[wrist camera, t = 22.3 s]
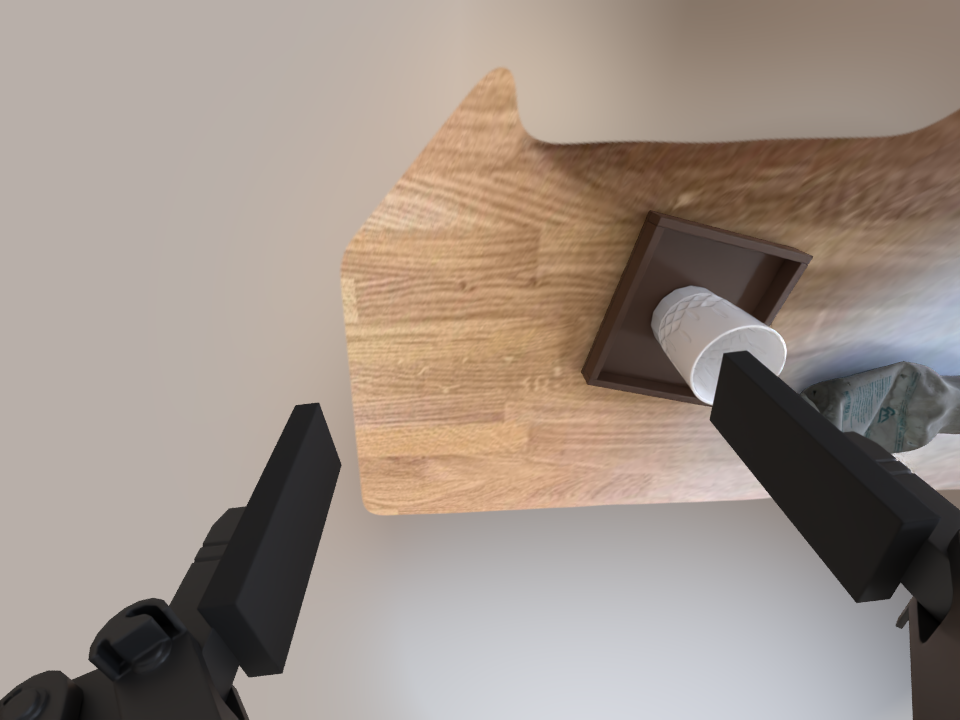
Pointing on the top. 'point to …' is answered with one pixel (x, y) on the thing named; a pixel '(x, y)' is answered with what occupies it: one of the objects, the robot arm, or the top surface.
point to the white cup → (711, 337)
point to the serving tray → (676, 264)
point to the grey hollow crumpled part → (891, 404)
